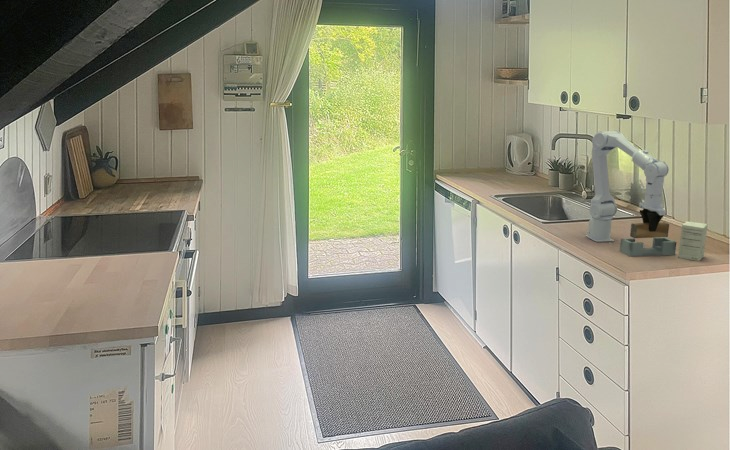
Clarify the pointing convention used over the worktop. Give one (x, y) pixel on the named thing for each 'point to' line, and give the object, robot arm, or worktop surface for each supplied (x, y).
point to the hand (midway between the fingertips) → (649, 230)
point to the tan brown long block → (643, 230)
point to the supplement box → (692, 240)
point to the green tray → (658, 248)
